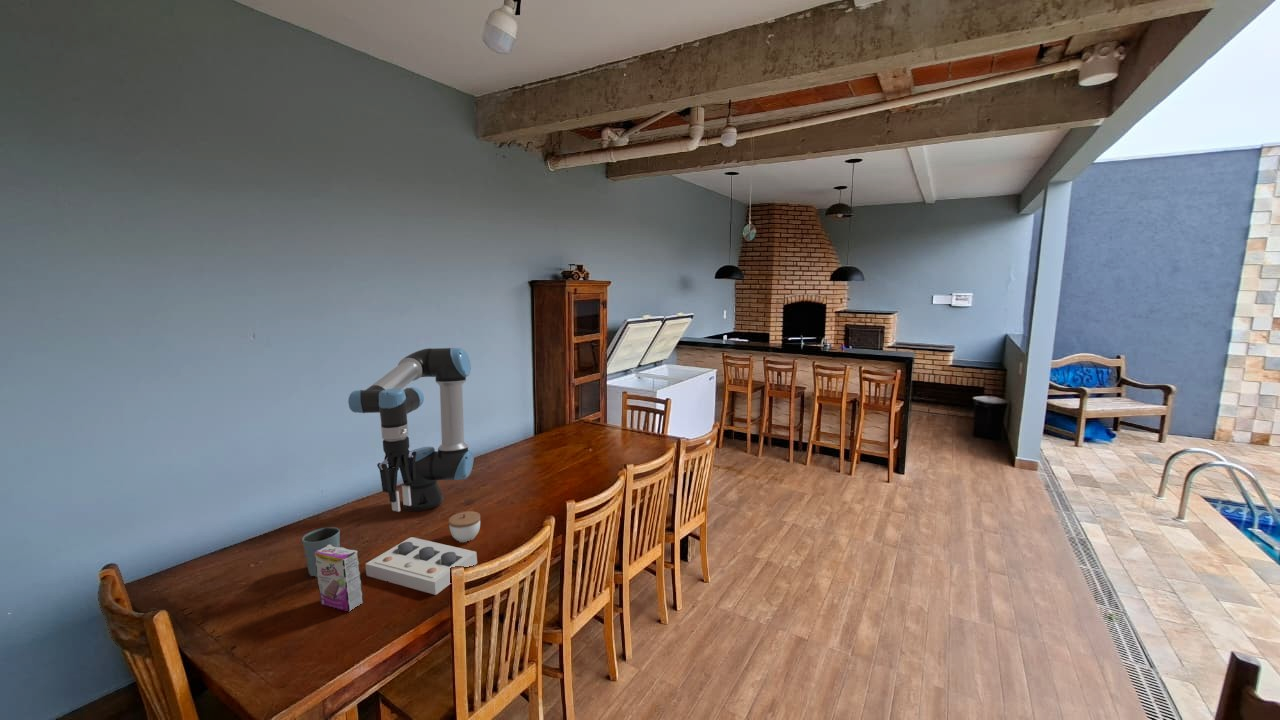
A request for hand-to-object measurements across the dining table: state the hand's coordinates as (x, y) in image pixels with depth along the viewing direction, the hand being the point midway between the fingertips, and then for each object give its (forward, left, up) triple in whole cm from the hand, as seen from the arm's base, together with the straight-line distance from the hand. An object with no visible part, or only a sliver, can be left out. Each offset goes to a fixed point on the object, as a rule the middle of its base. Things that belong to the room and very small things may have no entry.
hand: (401, 507), depth 162 cm
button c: (0, +18, -16) cm, 24 cm away
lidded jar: (-19, +8, -19) cm, 28 cm away
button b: (0, +9, -16) cm, 18 cm away
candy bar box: (+24, +1, -19) cm, 31 cm away
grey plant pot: (+13, -21, -19) cm, 31 cm away
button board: (+2, +9, -19) cm, 21 cm away
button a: (0, 0, -16) cm, 16 cm away
